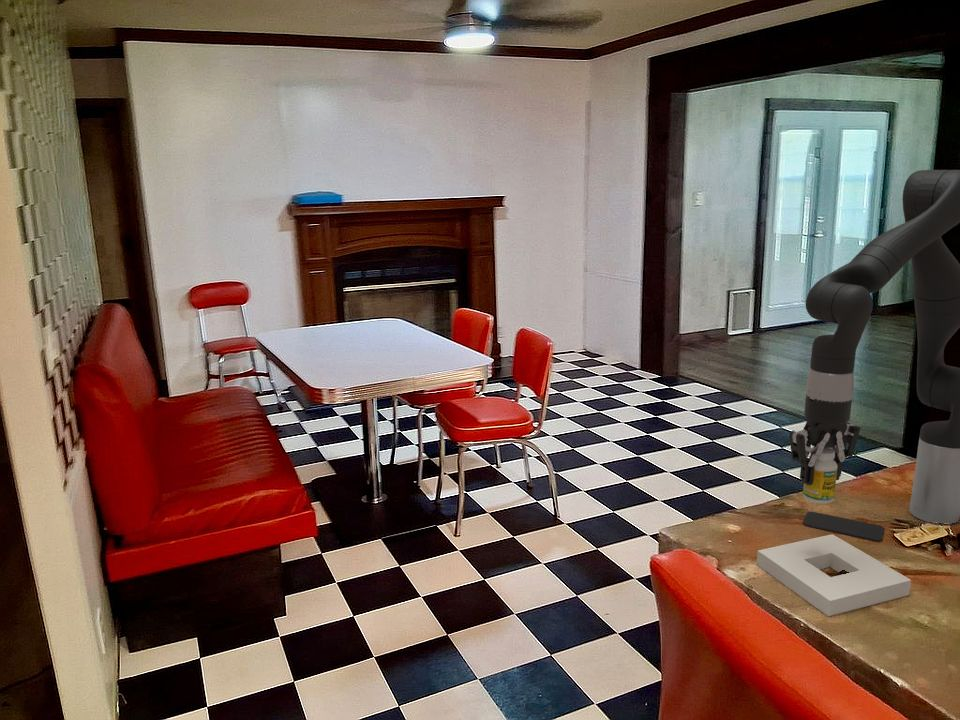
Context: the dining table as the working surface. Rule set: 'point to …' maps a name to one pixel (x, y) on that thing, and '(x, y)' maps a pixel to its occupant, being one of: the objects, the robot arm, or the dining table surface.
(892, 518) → the dining table surface
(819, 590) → the socket block
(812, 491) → the supplement bottle
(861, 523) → the phone
